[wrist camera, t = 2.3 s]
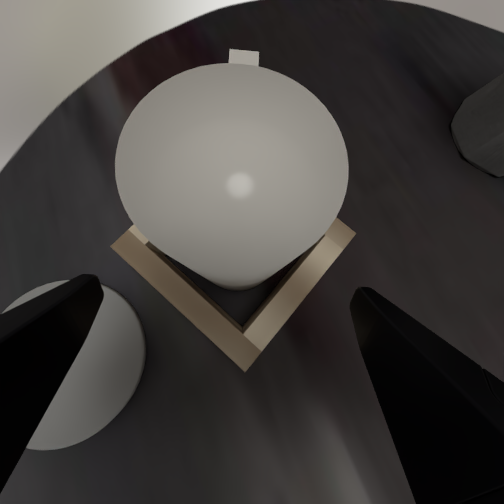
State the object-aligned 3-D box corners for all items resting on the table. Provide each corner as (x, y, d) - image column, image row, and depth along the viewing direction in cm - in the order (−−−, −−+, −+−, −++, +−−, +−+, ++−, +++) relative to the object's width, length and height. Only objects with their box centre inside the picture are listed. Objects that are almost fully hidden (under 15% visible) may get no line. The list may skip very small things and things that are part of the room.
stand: (243, 355, 17) (245, 372, 14) (137, 257, 19) (110, 246, 15) (332, 246, 20) (356, 233, 16) (232, 163, 21) (231, 132, 17)
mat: (58, 481, 15) (49, 491, 15) (-47, 365, 16) (-61, 369, 16) (177, 347, 17) (174, 349, 17) (77, 252, 18) (70, 250, 18)
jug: (275, 292, 19) (354, 279, 6) (195, 289, 18) (95, 267, 6) (277, 185, 20) (340, -1, 8) (205, 180, 20) (147, -21, 7)
